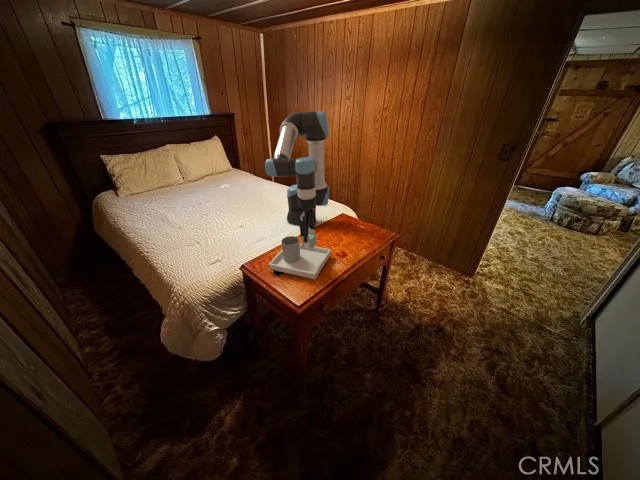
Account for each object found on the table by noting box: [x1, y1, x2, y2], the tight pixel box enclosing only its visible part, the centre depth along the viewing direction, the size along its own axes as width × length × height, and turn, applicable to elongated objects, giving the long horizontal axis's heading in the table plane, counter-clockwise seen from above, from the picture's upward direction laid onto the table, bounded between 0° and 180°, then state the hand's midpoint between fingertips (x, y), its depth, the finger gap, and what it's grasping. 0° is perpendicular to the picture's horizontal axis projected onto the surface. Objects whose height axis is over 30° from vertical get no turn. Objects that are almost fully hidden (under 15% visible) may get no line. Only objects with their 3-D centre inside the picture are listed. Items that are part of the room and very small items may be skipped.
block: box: [301, 233, 317, 249], centre depth 116 cm, size 5×5×5 cm
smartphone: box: [273, 270, 285, 277], centre depth 123 cm, size 7×1×15 cm
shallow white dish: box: [268, 243, 332, 280], centre depth 124 cm, size 22×24×4 cm
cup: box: [281, 235, 300, 263], centre depth 123 cm, size 8×8×10 cm
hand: (309, 244), depth 117 cm, fingers closed on block, 5 cm apart
